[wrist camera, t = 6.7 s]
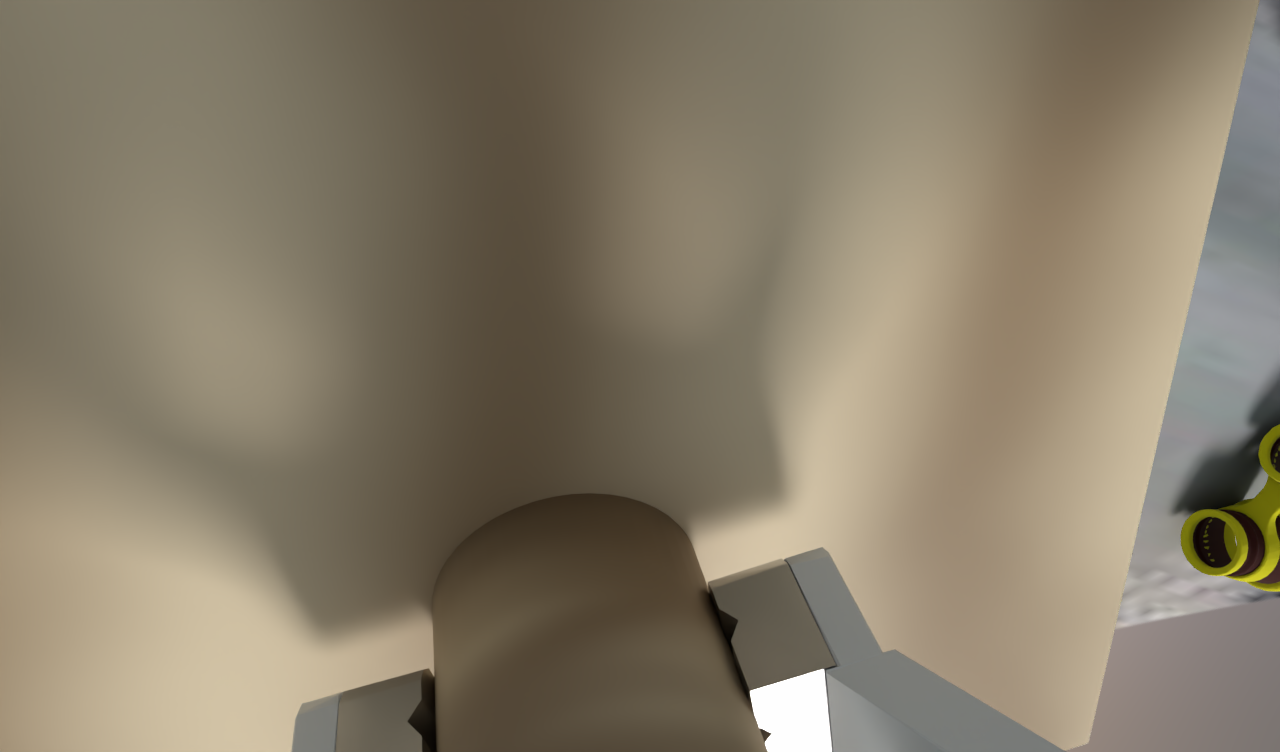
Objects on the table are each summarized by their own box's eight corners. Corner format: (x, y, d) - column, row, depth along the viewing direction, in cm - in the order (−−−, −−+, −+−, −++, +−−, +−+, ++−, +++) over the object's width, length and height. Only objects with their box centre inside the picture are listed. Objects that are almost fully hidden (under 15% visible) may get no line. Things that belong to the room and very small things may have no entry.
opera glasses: (1278, 394, 45) (1365, 455, 41) (1336, 415, 47) (1424, 475, 43) (1152, 532, 49) (1219, 599, 45) (1210, 545, 51) (1280, 611, 47)
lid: (1235, -370, 8) (1979, -490, 4) (1052, 690, 18) (1221, 934, 14) (-753, 105, 7) (-2157, 522, 3) (238, 950, 17) (190, 1288, 13)
